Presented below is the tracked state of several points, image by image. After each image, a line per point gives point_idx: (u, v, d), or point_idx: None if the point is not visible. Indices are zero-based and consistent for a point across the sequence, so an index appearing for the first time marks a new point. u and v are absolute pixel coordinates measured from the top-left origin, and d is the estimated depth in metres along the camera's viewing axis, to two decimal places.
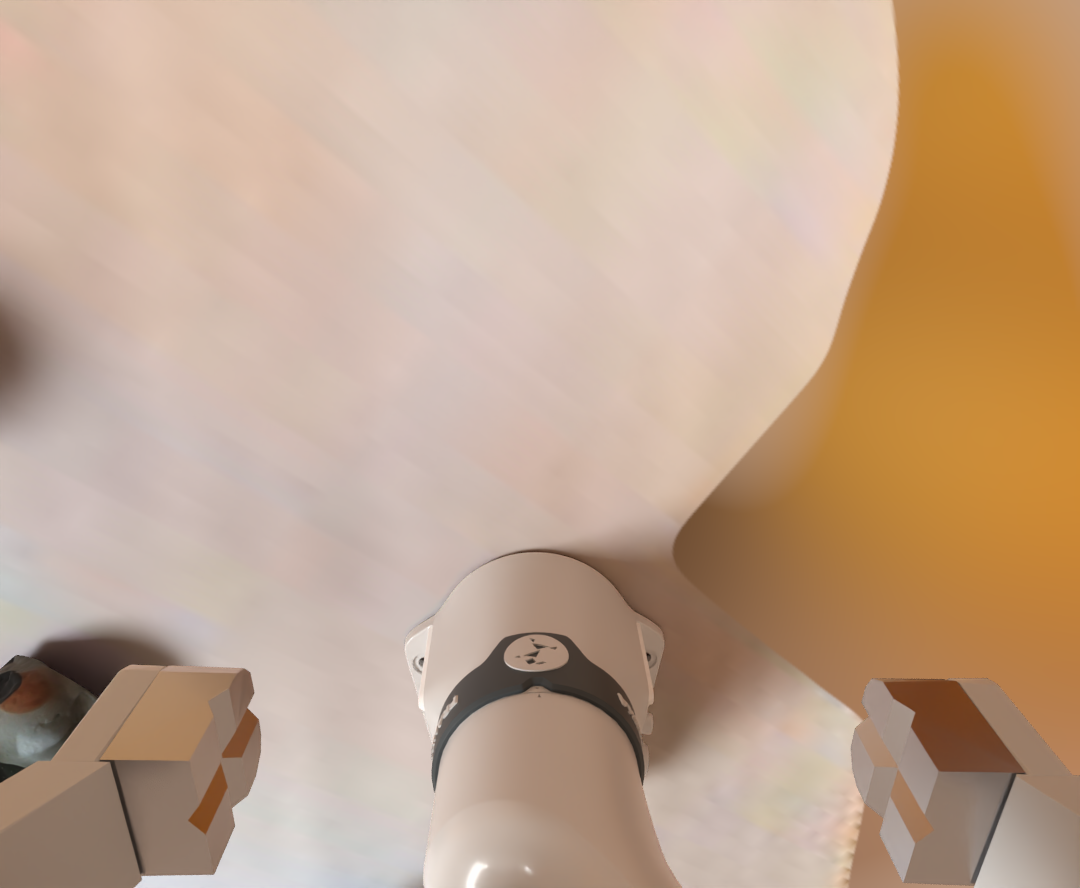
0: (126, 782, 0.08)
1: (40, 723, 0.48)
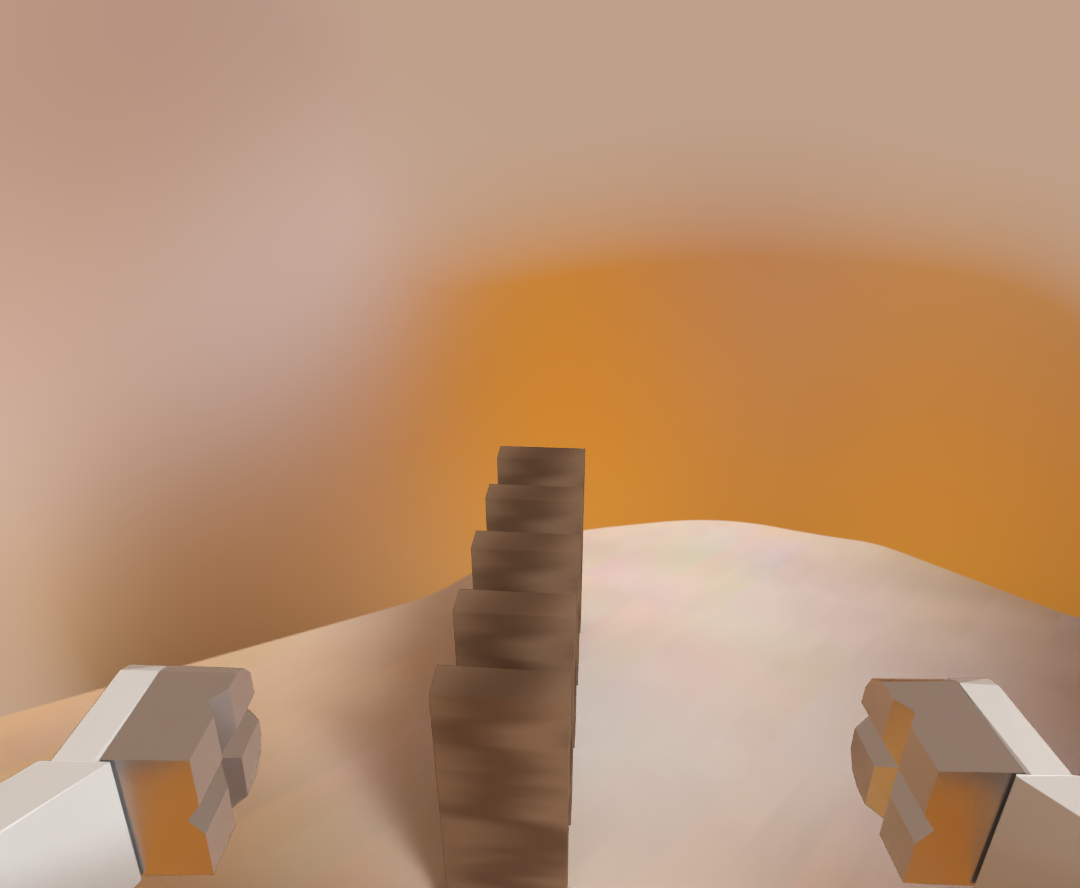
0: (126, 782, 0.08)
1: None
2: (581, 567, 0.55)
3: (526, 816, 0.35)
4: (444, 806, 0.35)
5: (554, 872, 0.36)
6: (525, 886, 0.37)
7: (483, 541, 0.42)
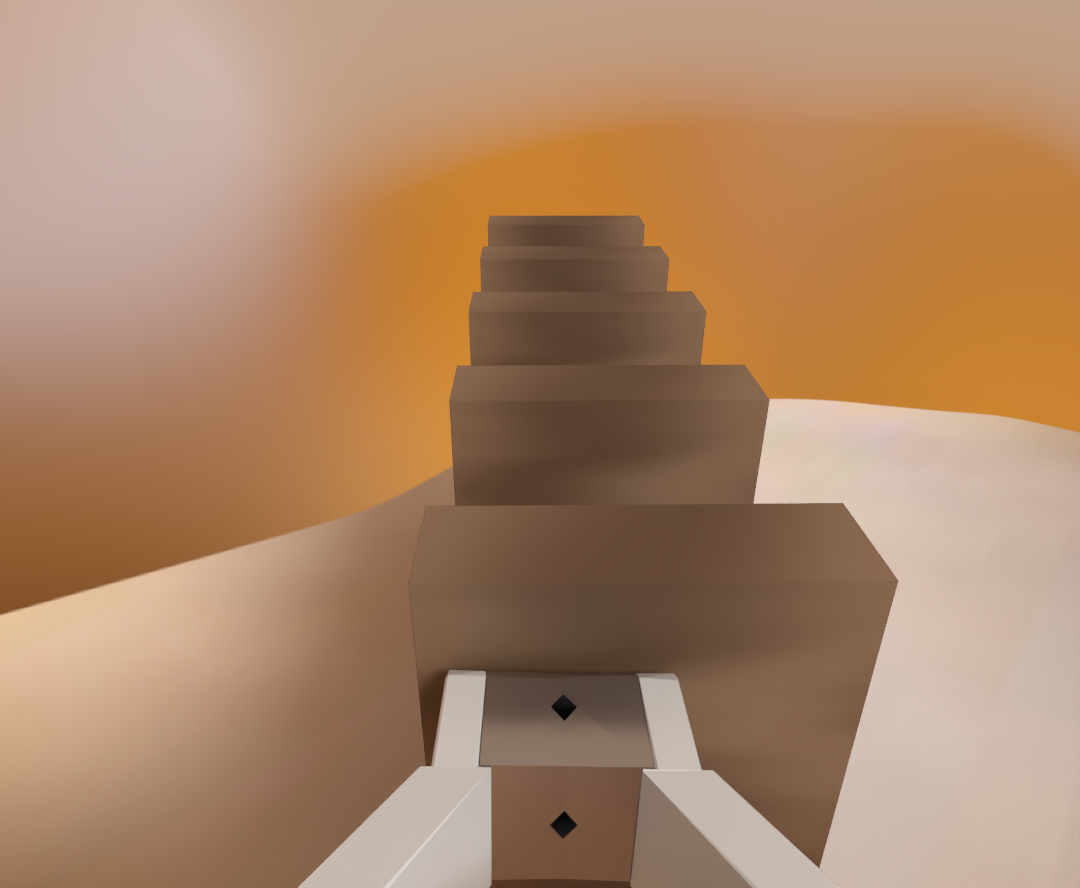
0: (500, 787, 0.08)
1: None
2: None
3: None
4: None
5: None
6: None
7: (494, 303, 0.20)
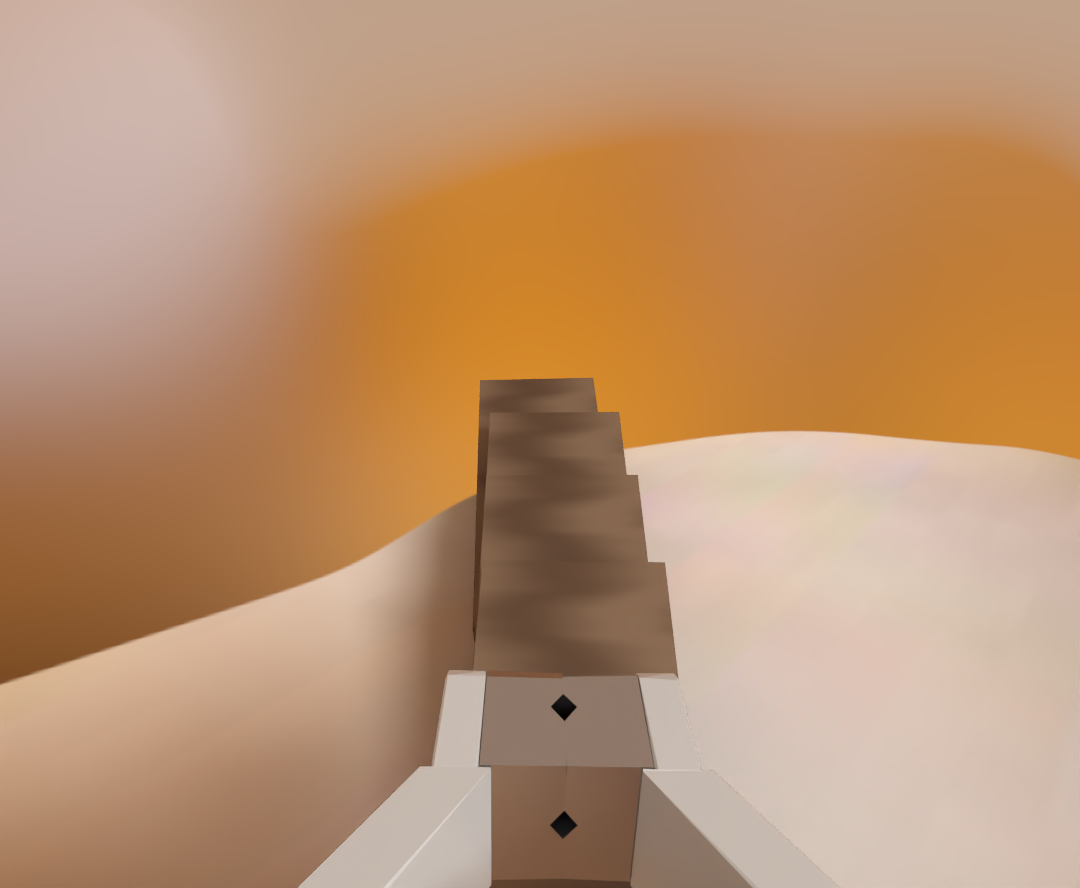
0: (500, 787, 0.08)
1: None
2: None
3: None
4: None
5: None
6: None
7: None
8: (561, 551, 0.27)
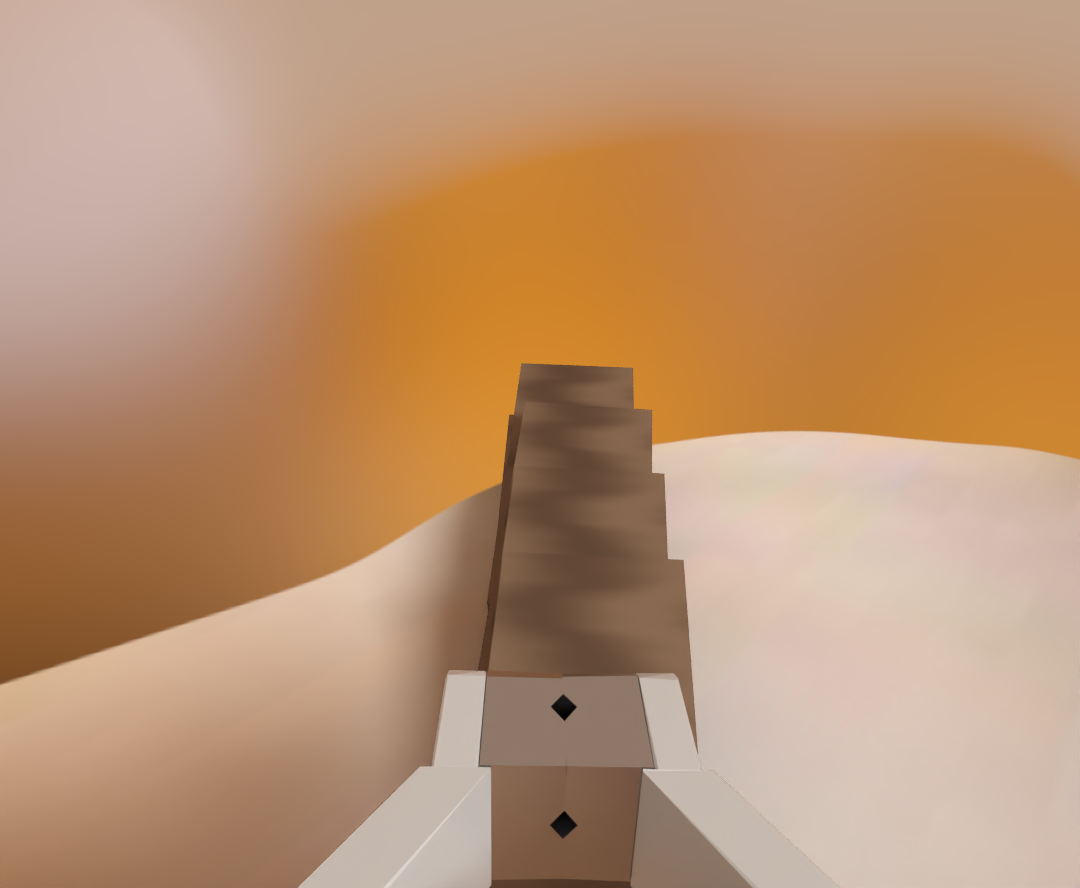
0: (500, 787, 0.08)
1: None
2: None
3: None
4: None
5: None
6: None
7: None
8: (582, 543, 0.28)
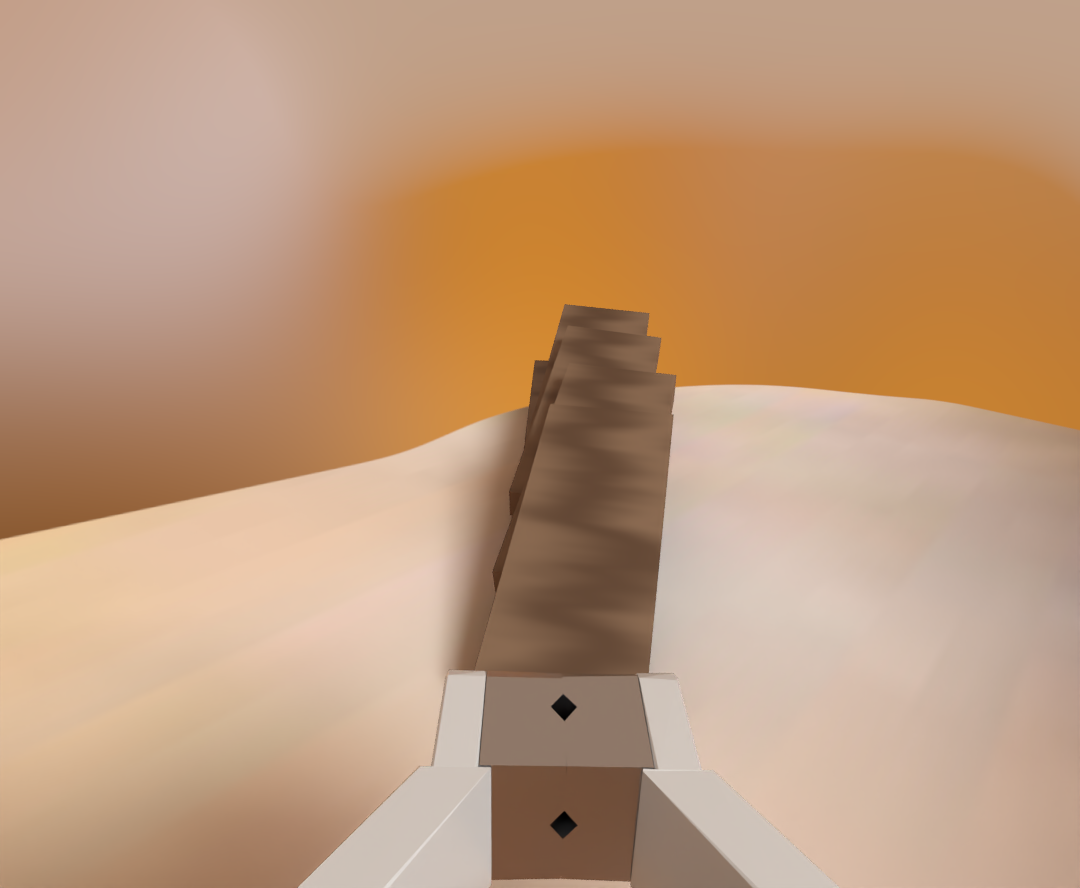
0: (501, 787, 0.08)
1: None
2: None
3: (616, 522, 0.31)
4: (526, 507, 0.32)
5: (639, 604, 0.28)
6: (596, 627, 0.27)
7: None
8: None
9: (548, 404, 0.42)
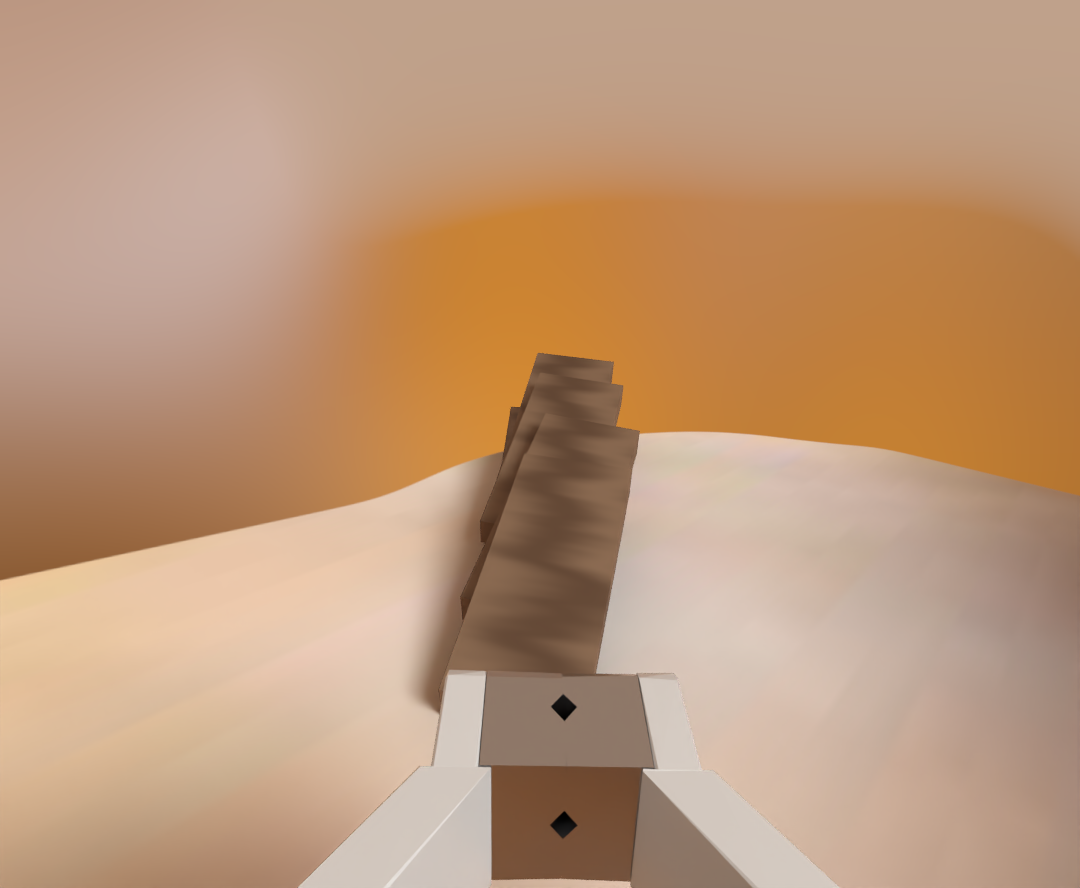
0: (501, 787, 0.08)
1: None
2: None
3: (572, 563, 0.35)
4: (496, 545, 0.36)
5: (586, 635, 0.32)
6: (548, 653, 0.32)
7: None
8: (576, 459, 0.44)
9: (518, 444, 0.48)
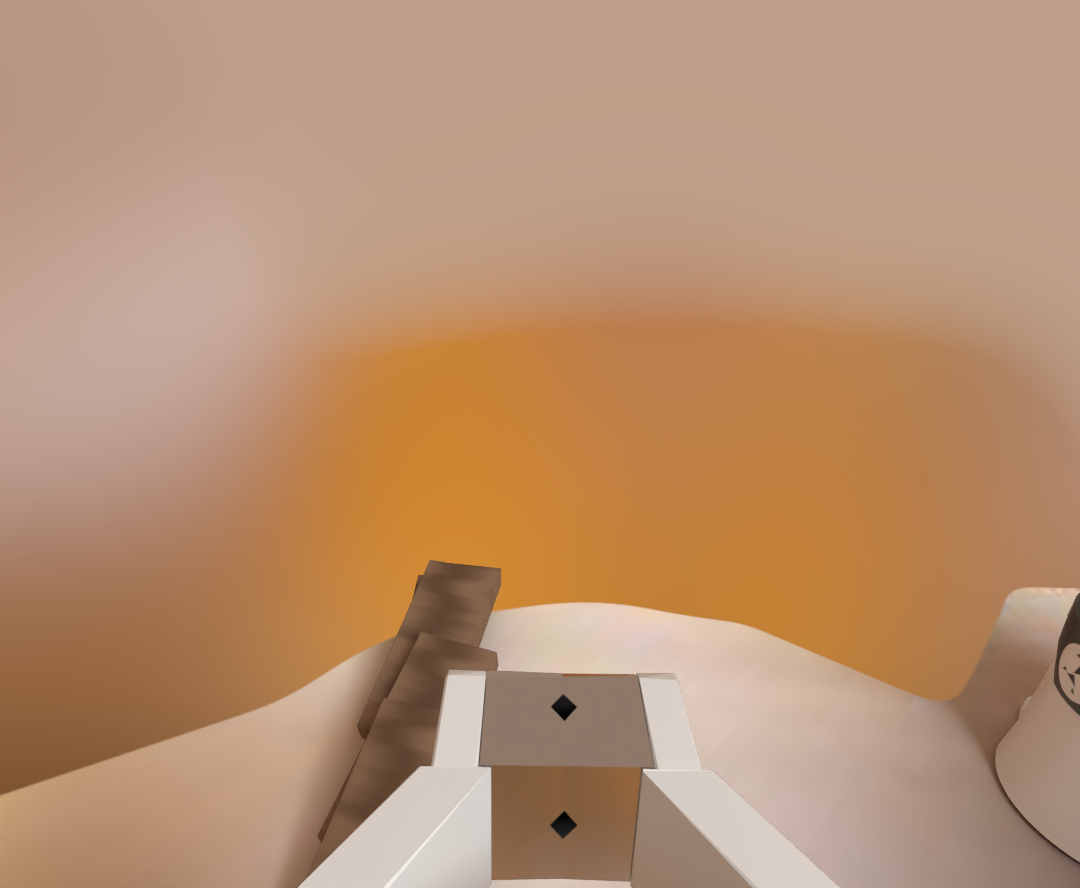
0: (500, 787, 0.08)
1: None
2: None
3: None
4: (343, 802, 0.45)
5: None
6: None
7: None
8: (436, 685, 0.52)
9: (400, 641, 0.57)
